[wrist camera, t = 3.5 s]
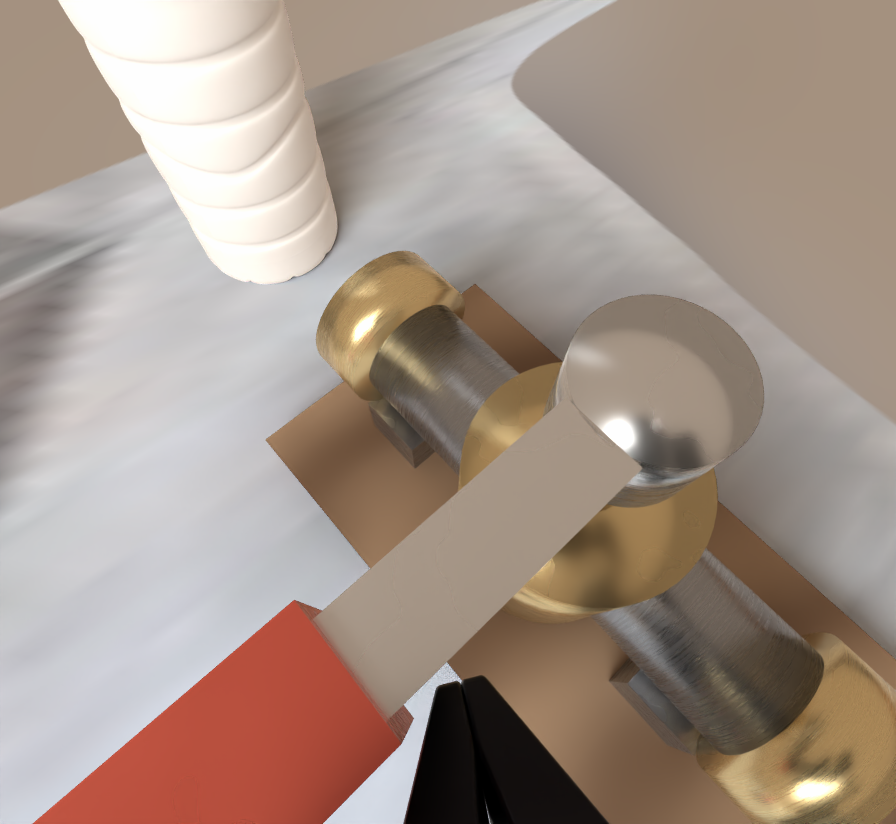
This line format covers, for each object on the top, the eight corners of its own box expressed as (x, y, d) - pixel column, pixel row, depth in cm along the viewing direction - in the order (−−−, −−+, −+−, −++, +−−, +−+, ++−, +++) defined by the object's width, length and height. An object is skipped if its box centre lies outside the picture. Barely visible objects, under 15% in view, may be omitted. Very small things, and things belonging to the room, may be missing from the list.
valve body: (811, 668, 18) (1125, 678, 10) (689, 830, 16) (947, 1010, 8) (443, 320, 23) (443, 136, 15) (321, 412, 21) (246, 259, 13)
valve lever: (609, 342, 12) (656, 253, 10) (725, 441, 11) (814, 373, 9) (121, 765, 9) (-20, 811, 6) (228, 955, 8) (116, 1109, 5)
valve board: (924, 714, 19) (962, 719, 17) (730, 1008, 16) (758, 1042, 14) (473, 303, 25) (475, 283, 24) (276, 453, 22) (265, 439, 21)
